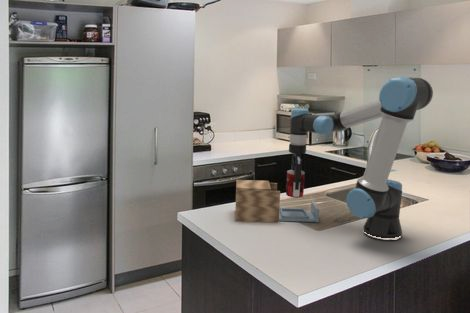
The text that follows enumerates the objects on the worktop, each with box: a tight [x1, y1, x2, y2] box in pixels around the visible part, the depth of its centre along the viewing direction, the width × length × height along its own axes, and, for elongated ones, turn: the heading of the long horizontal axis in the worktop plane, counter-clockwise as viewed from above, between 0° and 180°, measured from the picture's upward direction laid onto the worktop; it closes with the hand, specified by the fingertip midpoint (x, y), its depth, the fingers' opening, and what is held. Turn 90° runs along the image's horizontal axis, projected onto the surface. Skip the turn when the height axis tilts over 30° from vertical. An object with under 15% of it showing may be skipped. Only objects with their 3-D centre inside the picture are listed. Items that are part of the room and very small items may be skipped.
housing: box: [234, 179, 281, 223], centre depth 191 cm, size 19×15×15 cm
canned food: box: [285, 169, 306, 199], centre depth 190 cm, size 8×8×11 cm
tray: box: [279, 200, 320, 223], centre depth 192 cm, size 20×13×6 cm, turn 90°
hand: (294, 193), depth 190 cm, fingers closed on canned food, 8 cm apart
